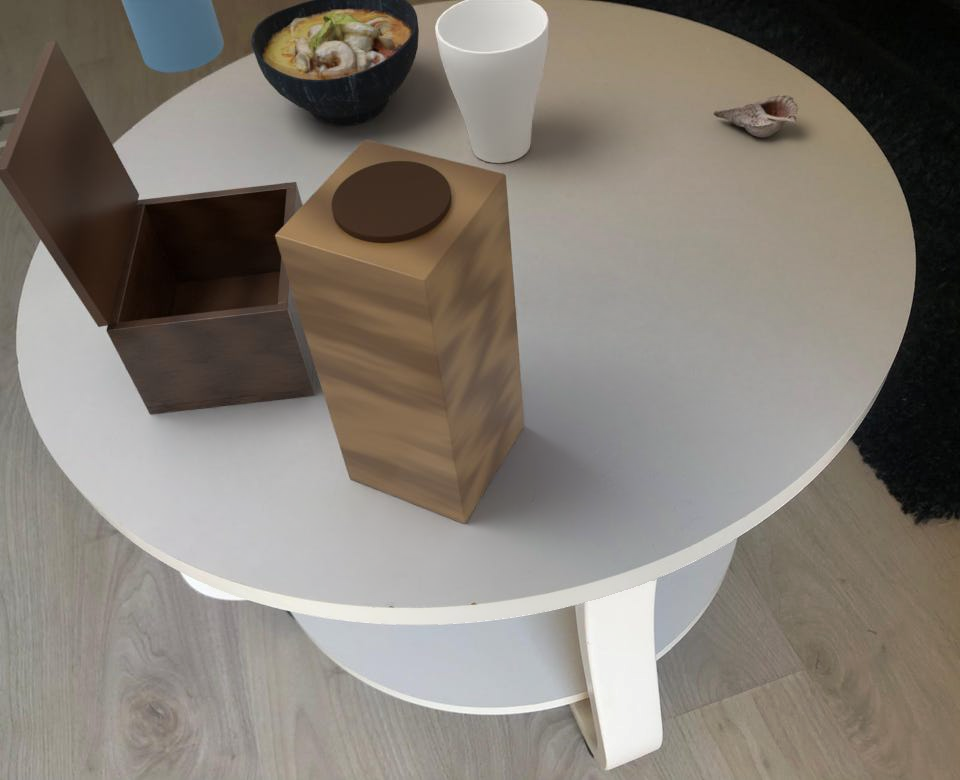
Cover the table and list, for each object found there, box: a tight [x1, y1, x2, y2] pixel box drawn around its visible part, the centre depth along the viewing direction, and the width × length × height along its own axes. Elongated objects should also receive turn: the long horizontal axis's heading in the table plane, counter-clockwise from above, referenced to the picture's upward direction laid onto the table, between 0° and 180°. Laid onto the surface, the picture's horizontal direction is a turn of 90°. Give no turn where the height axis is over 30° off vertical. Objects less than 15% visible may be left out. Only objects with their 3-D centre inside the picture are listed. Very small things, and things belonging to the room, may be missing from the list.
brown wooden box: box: [105, 181, 316, 415], centre depth 83 cm, size 14×16×10 cm
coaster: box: [332, 161, 452, 243], centre depth 58 cm, size 7×7×1 cm
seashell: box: [713, 94, 799, 138], centre depth 98 cm, size 4×8×4 cm
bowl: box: [250, 0, 420, 127], centre depth 105 cm, size 17×17×10 cm
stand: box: [275, 138, 525, 525], centre depth 67 cm, size 10×10×24 cm
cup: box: [434, 0, 550, 164], centre depth 96 cm, size 10×10×14 cm
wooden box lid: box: [0, 40, 140, 328], centre depth 73 cm, size 14×16×5 cm
